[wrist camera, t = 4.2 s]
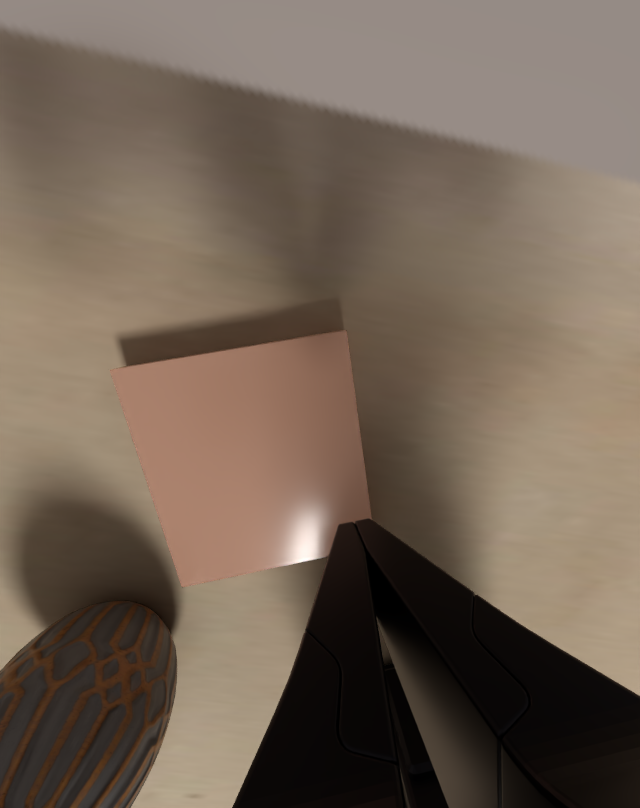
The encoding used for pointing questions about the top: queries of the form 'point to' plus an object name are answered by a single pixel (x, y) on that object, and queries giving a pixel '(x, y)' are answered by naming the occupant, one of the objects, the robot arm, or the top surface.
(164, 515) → the tile
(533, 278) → the top surface
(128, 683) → the vase
